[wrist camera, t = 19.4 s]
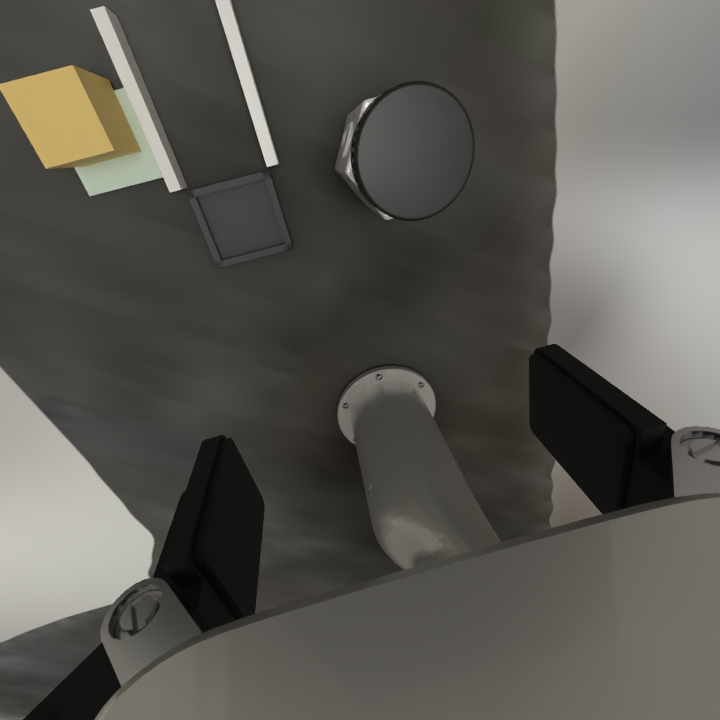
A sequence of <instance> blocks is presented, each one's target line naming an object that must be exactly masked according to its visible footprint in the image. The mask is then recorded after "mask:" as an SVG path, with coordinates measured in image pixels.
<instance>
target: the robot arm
mask: <svg viewBox="0 0 720 720" xmlns="http://www.w3.org/2000/svg"><path fill="white" fill-rule="evenodd" d="M377 374H378V375H377ZM435 409H436V399H435V395H434V392H433V390H432V388H431V386H430V384H429V383H428V382H427V380H426V379H425V378H424V377H423V376H422V375H420V374H419V373H418V372H416V371H414V370H412V369H409V368H406V367H402V366H394V365H393V366H382V367H377V368H373V369H371V370H369V371H366V372H364V373H362V374H361V375H359V376H358V377H356V378H355V379H354V380H353V381H352V382H350V383H349V384H348V386H347V387H346V388H345V390H344V391H343V393H342V395H341V397H340V399H339V402H338V406H337V417H338V423H339V426H340V429H341V431H342V433H343V434H344V436H345V437H346V438H347V439H348V440H349V441H350V442H352V443H353V444H354V445H356V449H357V454H358V459H359V464H360V469H361V474H362V479H363V484H364V488H365V493H366V498H367V503H368V508H369V513H370V518H371V523H372V527H373V531H374V534H375V536H376V538H377V541H378V543H379V544H380V546H381V547H382V549H383V550H384V552H385V553H386V554H387V555H388V556H389V557H390V558H391V559H392V560H393V561H394V562H395V563H396V564H397V565H398V566H400V567H401V568H402V569H403V570H402V571H399V572H395V573H391V574H388V575H385V576H381V577H378V578H374V579H371V580H367V581H364V582H361V583H357V584H354V585H350V586H347V587H343V588H340V589H336V590H333V591H330V592H326V593H323V594H319V595H316V596H312V597H309V598H305V599H302V600H299V601H296V602H292V603H289V604H286V605H283V606H279V607H276V608H273V609H270V610H266V611H263V612H260V613H257V614H255V607H256V596H257V585H258V574H259V563H260V553H261V542H262V531H263V520H264V501H263V498H262V496H261V494H260V492H259V490H258V488H257V486H256V484H255V482H254V480H253V478H252V476H251V474H250V472H249V470H248V468H247V466H246V465H245V463H244V461H243V459H242V457H241V455H240V453H239V451H238V449H237V447H236V445H235V443H234V441H233V440H232V439H231V438H228V439H226V437H225V436H224V435H220V436H217V437H213V438H209V439H206V440H204V441H203V442H202V444H201V447H200V450H199V453H198V456H197V459H196V462H195V465H194V468H193V471H192V474H191V477H190V480H189V483H188V486H187V489H186V491H185V492H183V493H182V495H181V497H180V500H179V503H178V506H177V509H176V512H175V515H174V518H173V521H172V523H171V526H170V529H169V532H168V535H167V538H166V541H165V544H164V547H163V550H162V553H161V556H160V559H159V561H158V564H157V567H156V570H155V573H154V576H153V578H149V579H144V580H142V581H140V582H138V583H136V584H134V585H133V586H131V587H130V588H129V589H127V590H126V591H125V592H124V593H123V594H122V595H121V596H120V597H119V598H118V599H117V600H116V601H115V602H114V603H113V605H112V606H111V607H110V609H109V610H108V612H107V614H106V616H105V618H104V620H103V623H102V627H101V632H100V633H101V640H102V643H101V644H100V645H99V646H98V647H97V648H96V649H95V650H94V651H93V652H92V653H91V654H90V655H89V656H88V657H87V658H86V659H85V660H84V661H83V662H82V663H81V664H80V665H79V666H78V667H77V668H75V669H74V670H73V671H72V672H71V673H70V674H69V675H68V676H67V677H66V678H65V679H64V680H63V681H62V682H61V683H60V684H59V685H58V686H57V687H56V688H55V689H54V690H53V691H52V692H51V693H50V694H49V695H48V696H47V697H46V698H45V699H44V700H43V701H42V702H41V703H40V704H39V705H38V706H37V707H36V708H34V709H33V710H32V711H31V712H30V713H29V714H28V715H27V716H26V717H25V718H24V719H23V720H720V430H719V429H715V428H710V427H699V426H694V427H685V428H682V429H680V430H677V431H676V432H675V431H673V430H672V429H670V428H669V427H668V426H667V423H665V422H664V421H662V420H661V419H659V418H658V417H657V416H655V415H654V414H653V413H651V412H650V411H649V410H647V409H646V408H644V407H643V406H642V405H640V404H639V403H637V402H636V401H635V400H633V399H632V398H630V397H629V396H628V395H626V394H625V393H624V392H622V391H621V390H619V389H618V388H617V387H615V386H614V385H612V384H611V383H610V382H608V381H607V380H606V379H604V378H603V377H601V376H600V375H598V374H597V373H596V372H594V371H593V370H592V369H590V368H589V367H587V366H586V365H585V364H583V363H582V362H581V361H579V360H578V359H576V358H575V357H573V356H572V355H571V354H569V353H568V352H566V351H565V350H564V349H563V348H561V347H560V346H558V345H556V344H552V345H548V346H545V347H541V348H537V349H536V350H535V351H534V354H533V355H531V356H530V358H529V410H530V427H531V430H532V432H533V433H534V435H535V436H536V437H537V438H538V439H539V440H540V442H541V443H542V444H543V445H544V446H545V447H546V449H547V450H548V451H549V452H550V453H551V454H552V456H553V457H554V458H555V459H556V460H557V461H558V463H559V464H560V465H561V466H562V467H563V468H564V470H565V471H566V472H567V473H568V474H569V475H570V476H571V478H572V479H573V480H574V481H575V482H576V484H577V485H578V486H579V487H580V488H581V490H582V491H583V492H584V493H585V494H586V495H587V496H588V498H589V499H590V500H591V501H592V502H593V504H594V505H595V506H596V507H597V508H598V509H599V510H600V512H601V513H602V515H598V516H594V517H591V518H587V519H583V520H580V521H576V522H572V523H569V524H565V525H562V526H558V527H554V528H551V529H547V530H544V531H540V532H536V533H533V534H529V535H526V536H522V537H518V538H515V539H511V540H508V541H504V542H501V541H500V540H499V538H498V537H497V535H496V534H495V532H494V530H493V529H492V527H491V525H490V524H489V522H488V520H487V519H486V517H485V515H484V514H483V512H482V510H481V508H480V506H479V505H478V503H477V501H476V499H475V497H474V495H473V493H472V492H471V490H470V488H469V486H468V484H467V482H466V480H465V478H464V476H463V474H462V472H461V470H460V468H459V467H458V465H457V463H456V461H455V459H454V457H453V455H452V453H451V451H450V449H449V447H448V445H447V444H446V442H445V440H444V438H443V436H442V434H441V432H440V430H439V428H438V426H437V424H436V422H435V421H434V419H433V417H434V415H435Z"/></svg>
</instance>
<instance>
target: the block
mask: <svg viewBox="0 0 720 720" xmlns="http://www.w3.org/2000/svg"><path fill="white" fill-rule="evenodd" d="M0 90H1V92H2V93H3V95H4V97H5V99H6V100H7V102H8V104H9V106H10V107H11V109H12V111H13V112H14V114H15V116H16V118H17V119H18V121H19V123H20V125H21V126H22V128H23V130H24V132H25V133H26V135H27V137H28V138H29V140H30V142H31V144H32V145H33V147H34V149H35V151H36V152H37V154H38V156H39V157H40V159H41V161H42V163H43V164H44V166H45V168H46V169H49V168H70V167H85V166H89V165H92V164H96V163H100V162H104V161H107V160H111V159H115V158H119V157H122V156H126V155H130V154H133V153H137V152H141V149H140V147H139V144H138V142H137V140H136V138H135V136H134V134H133V131H132V129H131V127H130V125H129V123H128V120H127V118H126V116H125V114H124V112H123V109H122V107H121V105H120V103H119V101H118V98H117V96H116V94H115V92H114V90H113V88H112V85H111V83H110V81H109V80H108V79H106V78H103V77H101V76H98V75H96V74H93V73H91V72H89V71H86V70H84V69H81V68H79V67H76V66H74V65H71V66H67V67H63V68H59V69H56V70H52V71H48V72H44V73H40V74H37V75H33V76H29V77H25V78H22V79H18V80H14V81H10V82H6V83H3V84H0Z"/></svg>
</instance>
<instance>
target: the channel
mask: <svg viewBox="0 0 720 720" xmlns="http://www.w3.org/2000/svg"><path fill="white" fill-rule="evenodd" d="M215 1H216V5H217V8H218V11H219V14H220V17H221V21H222V24H223V27H224V30H225V34H226V37H227V40H228V43H229V46H230V50H231V53H232V56H233V59H234V63H235V66H236V69H237V72H238V75H239V79H240V82H241V85H242V88H243V92H244V95H245V98H246V101H247V104H248V108H249V111H250V114H251V117H252V121H253V124H254V127H255V130H256V133H257V137H258V140H259V143H260V146H261V150H262V153H263V156H264V159H265V162H266V166H267V167H270V166H274V165H277V164H279V161H278V158H277V154H276V151H275V147H274V144H273V141H272V137H271V134H270V130H269V127H268V124H267V120H266V117H265V113H264V110H263V107H262V103H261V100H260V96H259V93H258V90H257V86H256V83H255V79H254V76H253V73H252V69H251V66H250V62H249V59H248V56H247V52H246V49H245V46H244V42H243V39H242V35H241V32H240V29H239V25H238V22H237V18H236V15H235V12H234V8H233V5H232V1H231V0H215ZM90 11H91V13H92V15H93V18H94V20H95V22H96V25H97V27H98V29H99V31H100V34H101V36H102V38H103V41H104V43H105V45H106V47H107V50H108V52H109V54H110V57H111V59H112V61H113V64H114V66H115V68H116V70H117V73H118V75H119V77H120V80H121V82H122V84H123V86H124V89H125V91H126V93H127V96H128V98H129V100H130V102H131V105H132V107H133V109H134V112H135V114H136V116H137V118H138V121H139V123H140V125H141V128H142V130H143V132H144V134H145V137H146V139H147V141H148V144H149V146H150V148H151V151H152V153H153V155H154V157H155V160H156V162H157V164H158V167H159V169H160V171H161V173H162V176H163V178H164V180H165V183H166V185H167V187H168V189H169V192H174V191H177V190H181V189H185V188H188V187H187V185H186V182H185V180H184V177H183V175H182V172H181V170H180V168H179V165H178V163H177V160H176V158H175V155H174V153H173V151H172V148H171V146H170V143H169V141H168V139H167V136H166V134H165V131H164V129H163V126H162V124H161V122H160V119H159V117H158V114H157V112H156V109H155V107H154V105H153V102H152V100H151V97H150V95H149V92H148V90H147V88H146V85H145V83H144V80H143V78H142V76H141V73H140V71H139V68H138V66H137V63H136V61H135V59H134V56H133V54H132V51H131V49H130V46H129V44H128V42H127V39H126V37H125V34H124V32H123V30H122V27H121V25H120V22H119V20H118V17H117V16H116V15H115V14H113V13H112V12H111V11H110V10H108V9H107V8H106V7H104V6H103V7H99V8H95V9H91V10H90Z"/></svg>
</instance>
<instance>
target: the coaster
mask: <svg viewBox="0 0 720 720" xmlns="http://www.w3.org/2000/svg"><path fill="white" fill-rule="evenodd" d="M114 92H115V94H116V96H117V98H118V101H119V103H120V105H121V107H122V109H123V112H124V114H125V116H126V118H127V120H128V123H129V125H130V127H131V129H132V131H133V134H134V136H135V138H136V140H137V142H138V144H139V147H140V149H141V152H137V153H133V154H130V155H126V156H122V157H119V158H115V159H111V160H107V161H104V162H100V163H96V164H92V165H89V166H85V167H74V168H75V170H76V172H77V173H78V175H79V177H80V179H81V181H82V183H83V185H84V186H85V188H86V190H87V192H88V194H89V196H93V195H97V194H101V193H105V192H109V191H113V190H116V189H120V188H124V187H128V186H132V185H136V184H139V183H143V182H147V181H151V180H155V179H159V178H163V176H162V173H161V171H160V169H159V167H158V164H157V162H156V160H155V157H154V155H153V153H152V151H151V148H150V146H149V144H148V141H147V139H146V137H145V134H144V132H143V130H142V128H141V125H140V123H139V121H138V118H137V116H136V114H135V112H134V109H133V107H132V105H131V102H130V100H129V98H128V96H127V93H126V91H125V89H124V88H122V89H118V90H114Z"/></svg>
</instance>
